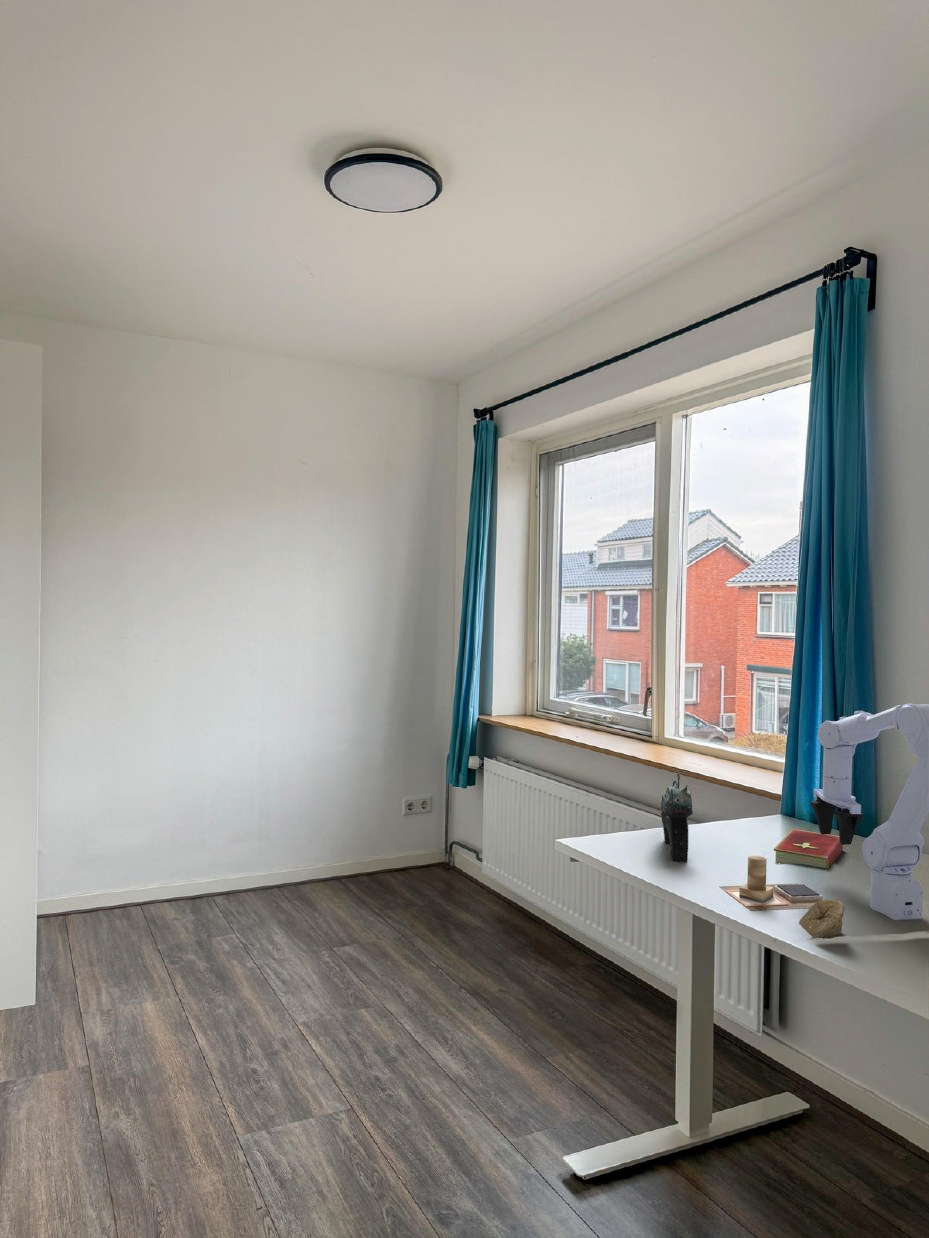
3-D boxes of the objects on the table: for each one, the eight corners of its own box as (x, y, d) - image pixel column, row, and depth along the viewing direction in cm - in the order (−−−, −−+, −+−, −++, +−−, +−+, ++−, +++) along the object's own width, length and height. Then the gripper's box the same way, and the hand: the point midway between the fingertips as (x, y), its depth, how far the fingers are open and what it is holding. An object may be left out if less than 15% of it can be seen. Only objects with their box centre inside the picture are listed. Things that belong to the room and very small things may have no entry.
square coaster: (788, 905, 172) (788, 904, 172) (745, 906, 170) (745, 905, 170) (765, 889, 181) (765, 888, 181) (725, 891, 179) (725, 890, 179)
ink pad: (823, 900, 175) (823, 894, 175) (791, 902, 174) (791, 896, 173) (804, 888, 182) (804, 883, 181) (773, 890, 180) (773, 884, 180)
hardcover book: (842, 852, 213) (843, 835, 213) (827, 875, 195) (828, 856, 195) (792, 844, 220) (792, 827, 219) (773, 865, 202) (773, 847, 202)
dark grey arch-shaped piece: (693, 864, 200) (695, 779, 199) (664, 863, 201) (666, 778, 200) (681, 840, 220) (683, 762, 219) (655, 839, 220) (657, 761, 220)
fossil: (817, 893, 165) (850, 900, 155) (832, 910, 165) (866, 918, 156) (789, 928, 163) (821, 937, 153) (804, 945, 163) (837, 955, 153)
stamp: (773, 897, 176) (774, 858, 176) (763, 903, 172) (764, 863, 172) (749, 891, 179) (750, 853, 179) (739, 897, 176) (740, 858, 175)
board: (835, 911, 171) (835, 906, 171) (750, 915, 168) (750, 910, 168) (797, 887, 185) (797, 883, 185) (718, 891, 182) (718, 886, 182)
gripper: (875, 783, 179) (873, 848, 179) (834, 769, 193) (833, 829, 194) (844, 784, 178) (842, 849, 178) (805, 769, 192) (804, 829, 193)
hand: (835, 838), depth 186 cm, fingers open, 7 cm apart
